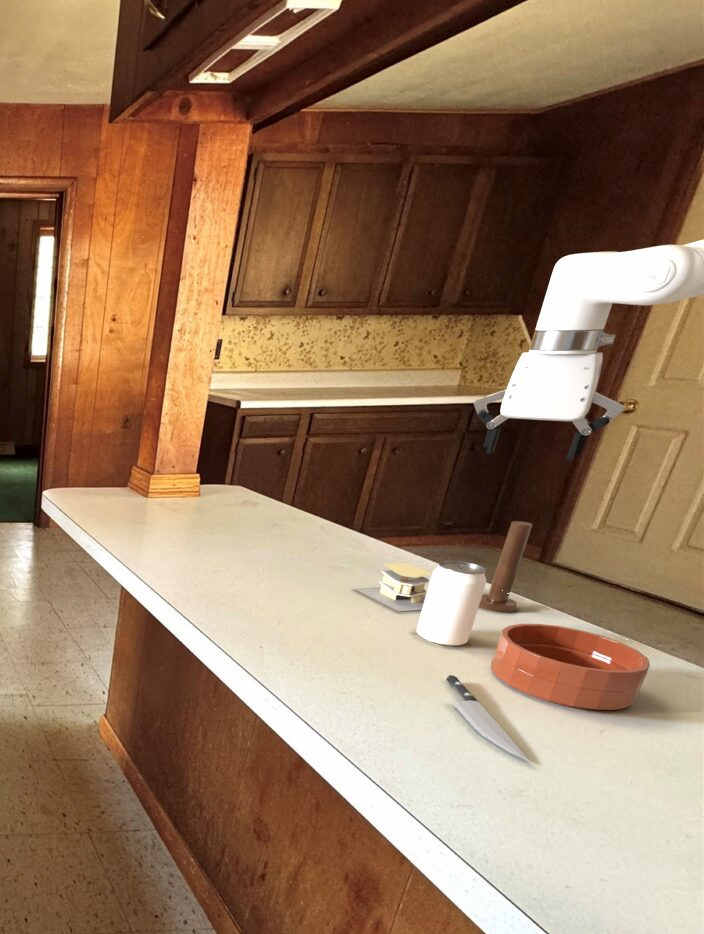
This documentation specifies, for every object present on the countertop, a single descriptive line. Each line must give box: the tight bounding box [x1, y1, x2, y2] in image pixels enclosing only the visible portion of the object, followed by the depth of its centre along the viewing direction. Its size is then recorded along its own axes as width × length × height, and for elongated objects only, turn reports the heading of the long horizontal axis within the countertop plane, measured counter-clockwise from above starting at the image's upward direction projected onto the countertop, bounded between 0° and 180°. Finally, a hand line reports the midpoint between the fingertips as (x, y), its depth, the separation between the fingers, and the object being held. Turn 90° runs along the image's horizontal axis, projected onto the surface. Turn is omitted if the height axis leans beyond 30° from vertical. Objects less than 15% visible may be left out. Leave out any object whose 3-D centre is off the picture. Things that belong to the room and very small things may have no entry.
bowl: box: [490, 623, 651, 711], centre depth 89 cm, size 14×14×6 cm
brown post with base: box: [478, 520, 533, 613], centre depth 112 cm, size 5×5×15 cm
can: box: [416, 560, 487, 647], centre depth 102 cm, size 6×6×12 cm
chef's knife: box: [445, 674, 530, 762], centre depth 84 cm, size 19×1×3 cm
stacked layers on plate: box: [356, 562, 432, 612], centre depth 118 cm, size 10×9×6 cm
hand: (528, 455), depth 106 cm, fingers open, 9 cm apart
